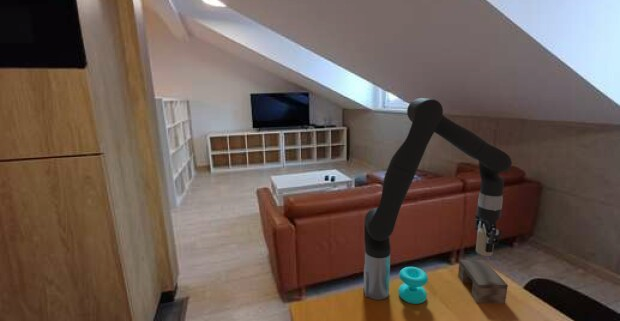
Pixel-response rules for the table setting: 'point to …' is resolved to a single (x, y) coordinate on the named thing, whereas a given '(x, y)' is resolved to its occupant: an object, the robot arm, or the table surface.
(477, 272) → the bridge
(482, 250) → the candle
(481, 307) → the table surface
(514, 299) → the table surface
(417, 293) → the turquoise spool
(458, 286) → the table surface
